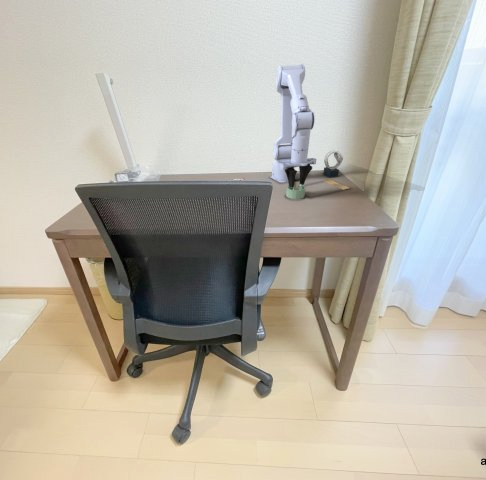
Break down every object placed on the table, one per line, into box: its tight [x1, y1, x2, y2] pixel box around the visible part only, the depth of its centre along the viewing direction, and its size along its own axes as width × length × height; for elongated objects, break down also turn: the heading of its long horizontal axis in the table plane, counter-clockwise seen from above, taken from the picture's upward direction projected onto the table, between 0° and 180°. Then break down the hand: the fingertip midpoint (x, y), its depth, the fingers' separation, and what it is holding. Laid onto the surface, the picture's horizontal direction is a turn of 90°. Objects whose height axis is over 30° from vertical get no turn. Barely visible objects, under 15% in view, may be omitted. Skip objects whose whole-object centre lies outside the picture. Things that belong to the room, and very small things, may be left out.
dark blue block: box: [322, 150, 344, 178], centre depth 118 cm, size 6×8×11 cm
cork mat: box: [323, 179, 351, 191], centre depth 107 cm, size 12×20×1 cm, turn 112°
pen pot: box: [285, 184, 307, 200], centre depth 101 cm, size 7×7×4 cm
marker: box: [293, 176, 301, 190], centre depth 100 cm, size 2×2×7 cm
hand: (296, 185), depth 99 cm, fingers open, 4 cm apart
